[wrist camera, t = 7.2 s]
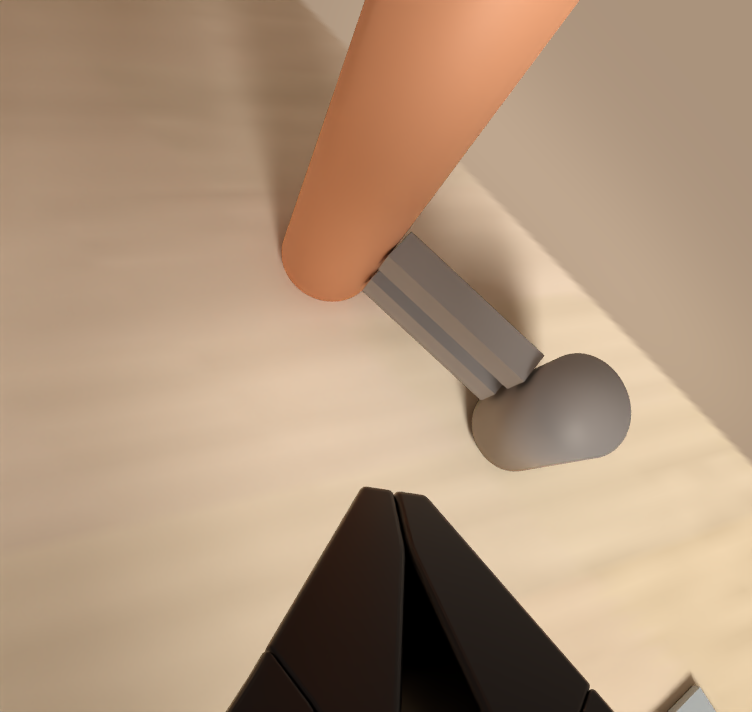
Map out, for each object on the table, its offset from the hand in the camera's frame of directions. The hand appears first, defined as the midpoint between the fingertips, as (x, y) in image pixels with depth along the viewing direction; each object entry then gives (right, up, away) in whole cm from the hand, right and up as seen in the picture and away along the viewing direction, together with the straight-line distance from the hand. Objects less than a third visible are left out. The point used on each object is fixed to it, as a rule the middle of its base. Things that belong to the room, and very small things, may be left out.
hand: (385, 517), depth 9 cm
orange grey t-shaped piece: (+1, +3, +13) cm, 13 cm away
